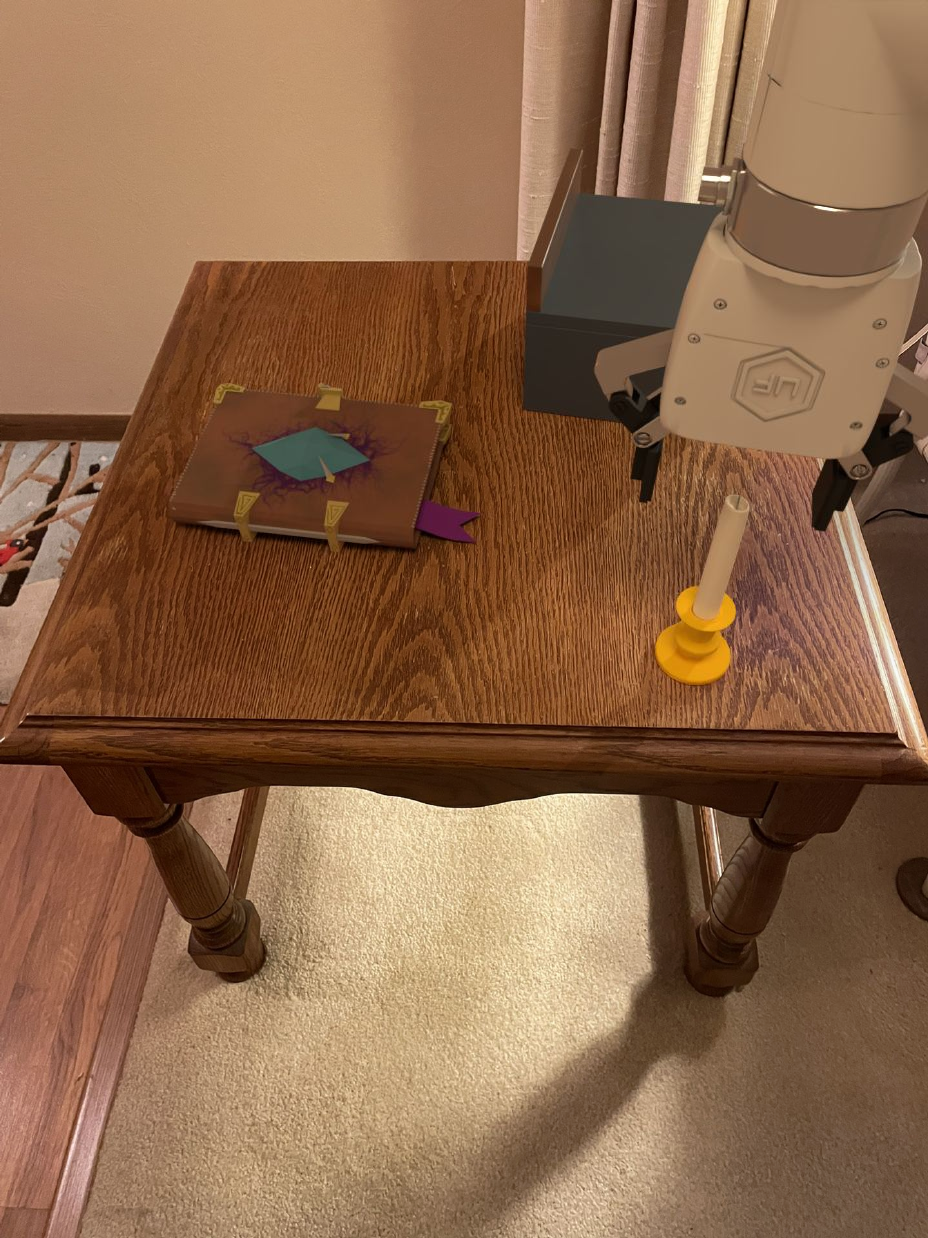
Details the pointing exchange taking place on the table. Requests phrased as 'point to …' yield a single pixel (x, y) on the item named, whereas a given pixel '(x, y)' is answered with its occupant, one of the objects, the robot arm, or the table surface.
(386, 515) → the book
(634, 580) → the table surface
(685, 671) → the candle
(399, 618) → the table surface
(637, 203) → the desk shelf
